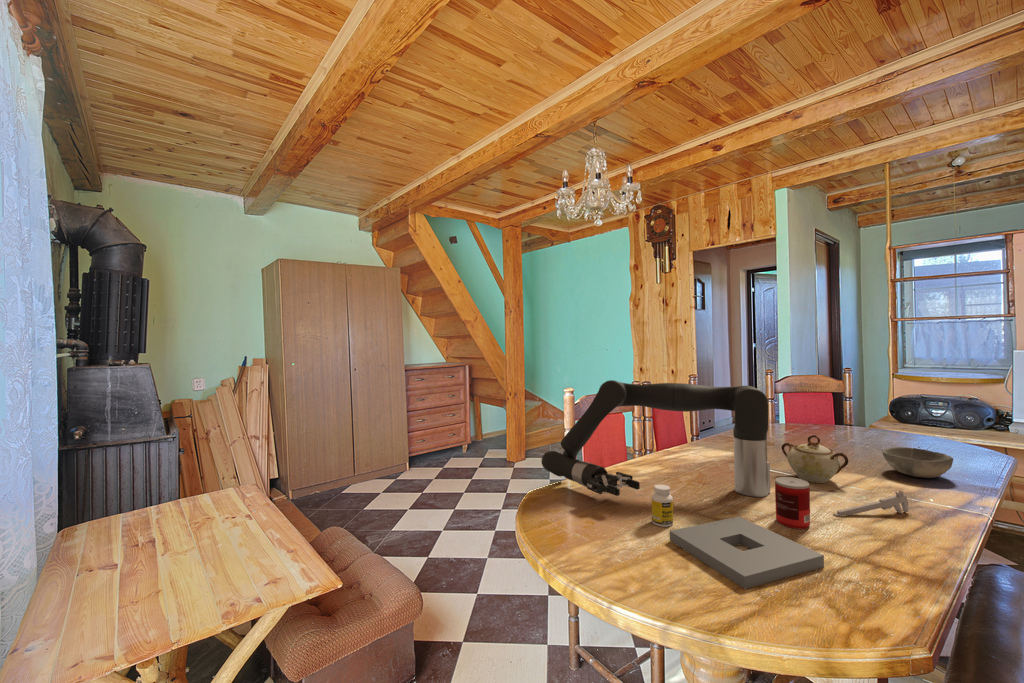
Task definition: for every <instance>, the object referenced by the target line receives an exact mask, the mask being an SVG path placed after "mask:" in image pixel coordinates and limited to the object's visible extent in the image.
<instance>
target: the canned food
mask: <svg viewBox="0 0 1024 683" xmlns="http://www.w3.org/2000/svg"><path fill="white" fill-rule="evenodd" d="M810 491H811V490H810V482H809V481H805V480H802V479H800V478H799V477H797V478H796V477H792V476H780V477H776V478H775V479H774V494H775V495H774V499H775V501H774V502H775V518H776V521H777V523H778V522H779V523H778V524H780V525H781V524H782V526H783V525H784V526H783V527H786V526H787V527H786V528H789V527H790V528H789V529H794V528H795V530H804V529H807V528H809V527H810V525H811V497H810V496H811V494H810V493H811V492H810Z"/></svg>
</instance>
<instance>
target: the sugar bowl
mask: <svg viewBox="0 0 1024 683" xmlns="http://www.w3.org/2000/svg"><path fill="white" fill-rule="evenodd" d="M812 438H813V439H814V438H816V439H817V441H816V442H811V439H812ZM820 443H821V439H820V437H819V436H818V435H817V434H812V435H810V436H808V438H807V443H802V444H797V445H795V444H792V443H790V442H784V443H783V444H782V445H781V452H782V453H783V454H784V456H785V457H786V459H787V462H788V465H789V466H790V468H791V470H793V472H794V473H795V474H796V476H797V478H798V479H802V480H804V481H807V482H808V483H810V482H811V483H815V482H816V484H823V483H828V482H829V481H830V480H831V479H832V478H833V477H834V476H835V475H838V474H839V473H840V471H842V470H843V469H844V468H845V467H847V465H848V464H849V459H848V456H847V455H846V454H845V453H844V452H834V451H833V450H832V449H830V448H828V447H825V446H823V445H821V444H820ZM787 446H788V447H789V449H788V452H787V451H786V450H785V448H786V447H787ZM839 457H842V458H843V459H844V462H843V464H842V465H841V460H840V458H839Z"/></svg>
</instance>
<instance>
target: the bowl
mask: <svg viewBox="0 0 1024 683" xmlns="http://www.w3.org/2000/svg"><path fill="white" fill-rule="evenodd" d="M881 451H882V452H881V453H882V456H883V458H884V459H885V461H886V462H887V464H888V465H889V466H890V467H891V468H892V469H894V470H896V471H897V472H899V473H901V474H903V475H906V476H910V477H915V478H925V479H933V478H939V477H941V476H942V475H944V474H946V473H947V472H948V471H949V470H950V469H951V468H952V467H953V466H952V465H953V462H954V458H953V457H952V456H951V455H948V454H945V453H942V452H939V451H938V452H937V451H931V450H928V449H922V448H916V447H906V446H905V447H904V446H898V447H897V446H894V447H886V448H884V449H882V450H881Z"/></svg>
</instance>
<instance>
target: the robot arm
mask: <svg viewBox="0 0 1024 683" xmlns="http://www.w3.org/2000/svg"><path fill="white" fill-rule="evenodd" d="M633 406H635V407H636V406H637V407H645V408H650V409H656V410H661V411H670V412H683V413H684V412H698V411H707V410H722V411H723V410H724V411H731V412H734V427H733V464H734V465H733V466H734V467H733V471H734V472H733V473H734V475H733V476H734V491H735V492H736V493H738V494H739V495H743V496H747V497H754V498H755V497H757V498H761V497H767V496H768V495H769V494H770V493H771V467H770V465H771V464H770V462H769V461H768V431H769V400H768V398H767V396H766V394H765V393H764V392H763V391H761V390H760V389H758V387H757V388H756V387H754V386H751V385H736V386H709V385H701V384H693V383H692V384H691V383H682V382H681V383H679V382H678V383H677V382H663V383H660V382H659V383H649V384H633V383H626V382H621V381H617V380H613V379H612V380H606V381H604V382H603V383H602V384H600V386H599V388H598V391H597V393H596V395H595V397H594V398H593V399H592V402H591V403H590V405H589V406H588V408H587V409H586V410H585V412H584V413H583V414H582V415H581V416H580V418H579V419H578V420H577V421H576V423H574V425H572V427H571V428H570V430H568V432H567V433H566V435H564V437H563V438H562V439H561V440H560V447H561V448H562V449H563V453H560V452H558V451H555V450H549V451H546V452H545V453H544V454H543V455H542V457H541V465H542V467H543V469H544V470H545V471H547V472H549V473H551V474H553V475H555V476H556V477H560V478H561V477H563V478H565V479H567V480H568V481H569V480H570V481H572V482H575V483H576V484H578V485H581V486H583V487H585V488H587V490H589V491H590V492H591V491H592V492H593V493H597V494H598V495H602V494H603V493H604V494H611V495H613V496H615V497H619V496H620V495H621V494H620V493H621V490H620V488H623V487H628V488H632V489H635V490H640V488H641V483H640V482H639V481H637V480H635V479H633V475H631V474H627V473H624V472H620V471H616V473H610V472H609V473H608V471H607V469H606V468H605V467H603V466H602V465H598V464H595V463H592V462H588V461H582V460H580V459H576V458H577V456H578V454H579V452H580V451H581V450H582V449H583V448H584V446H586V444H587V443H588V441H589V440H590V438H592V435H593V434H594V433H595V431H596V430H597V429H598V427H599V426H600V424H601V422H602V421H603V420H604V419H605V418H606V417H607V416H608V415H609V414H610V413H611V412H612V411H614V409H616V408H618V407H633ZM618 482H619V483H618Z"/></svg>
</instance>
